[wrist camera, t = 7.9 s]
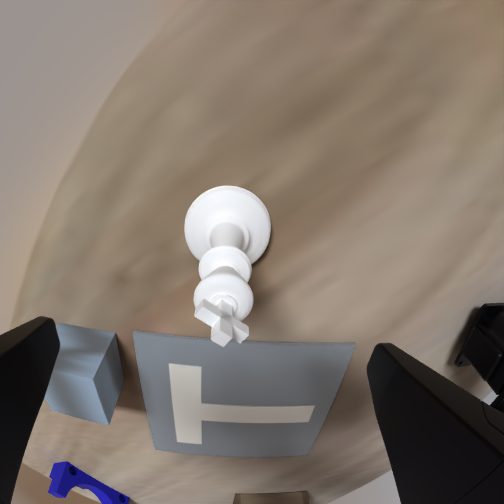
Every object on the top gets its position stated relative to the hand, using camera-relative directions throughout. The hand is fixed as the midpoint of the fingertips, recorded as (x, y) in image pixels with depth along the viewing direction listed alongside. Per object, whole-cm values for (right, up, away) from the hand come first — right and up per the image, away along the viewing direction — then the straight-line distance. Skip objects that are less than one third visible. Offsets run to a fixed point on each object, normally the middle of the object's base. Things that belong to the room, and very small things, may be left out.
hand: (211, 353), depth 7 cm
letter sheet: (0, -11, +16) cm, 20 cm away
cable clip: (-23, -32, +24) cm, 46 cm away
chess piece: (0, +4, +10) cm, 11 cm away
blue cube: (-11, -5, +13) cm, 18 cm away
